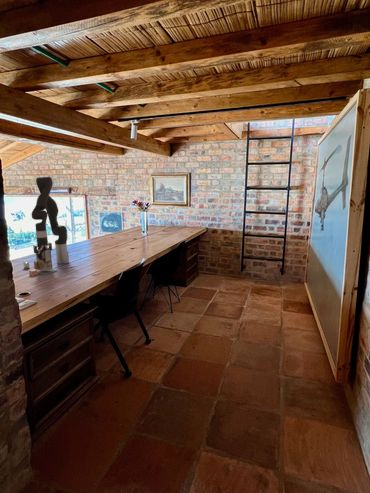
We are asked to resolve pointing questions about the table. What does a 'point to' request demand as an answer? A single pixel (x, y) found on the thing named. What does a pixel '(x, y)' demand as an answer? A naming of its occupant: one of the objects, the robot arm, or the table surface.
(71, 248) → the table surface
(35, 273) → the terracotta block
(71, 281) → the table surface
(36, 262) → the walnut block
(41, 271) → the slate mat
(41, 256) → the coffee box
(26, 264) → the steel cylinder
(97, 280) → the table surface
